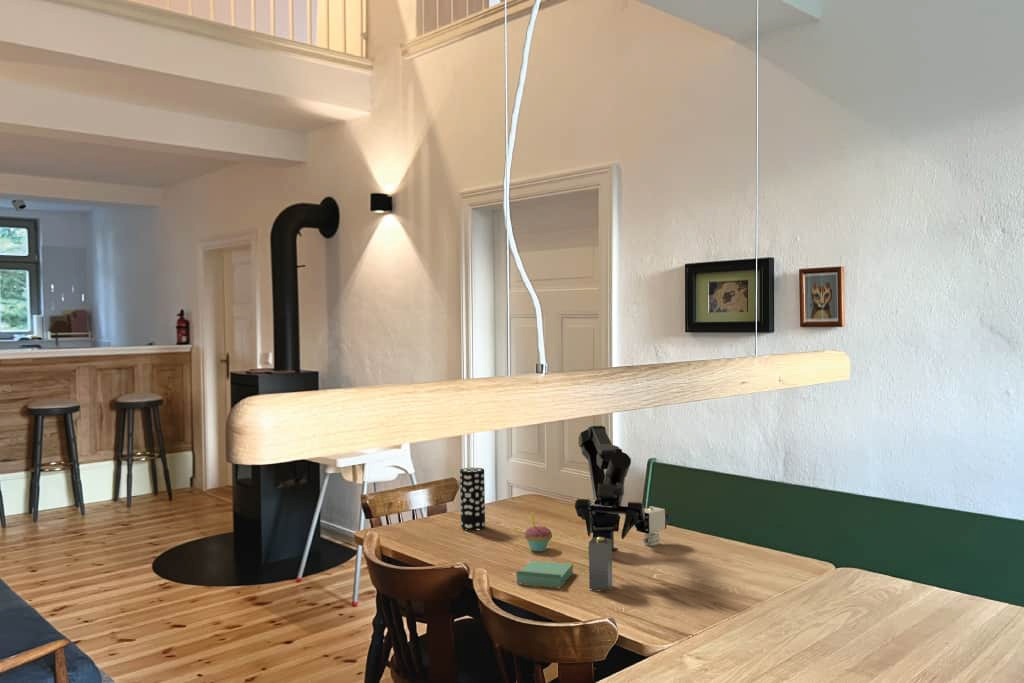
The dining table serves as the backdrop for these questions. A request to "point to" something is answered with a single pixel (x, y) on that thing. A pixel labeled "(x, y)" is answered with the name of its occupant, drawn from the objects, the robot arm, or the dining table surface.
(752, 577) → the dining table surface
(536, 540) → the cupcake
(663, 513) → the white security camera
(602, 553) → the block
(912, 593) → the dining table surface
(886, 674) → the dining table surface
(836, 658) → the dining table surface
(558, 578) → the coupler stand
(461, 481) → the white-spotted black cylinder
